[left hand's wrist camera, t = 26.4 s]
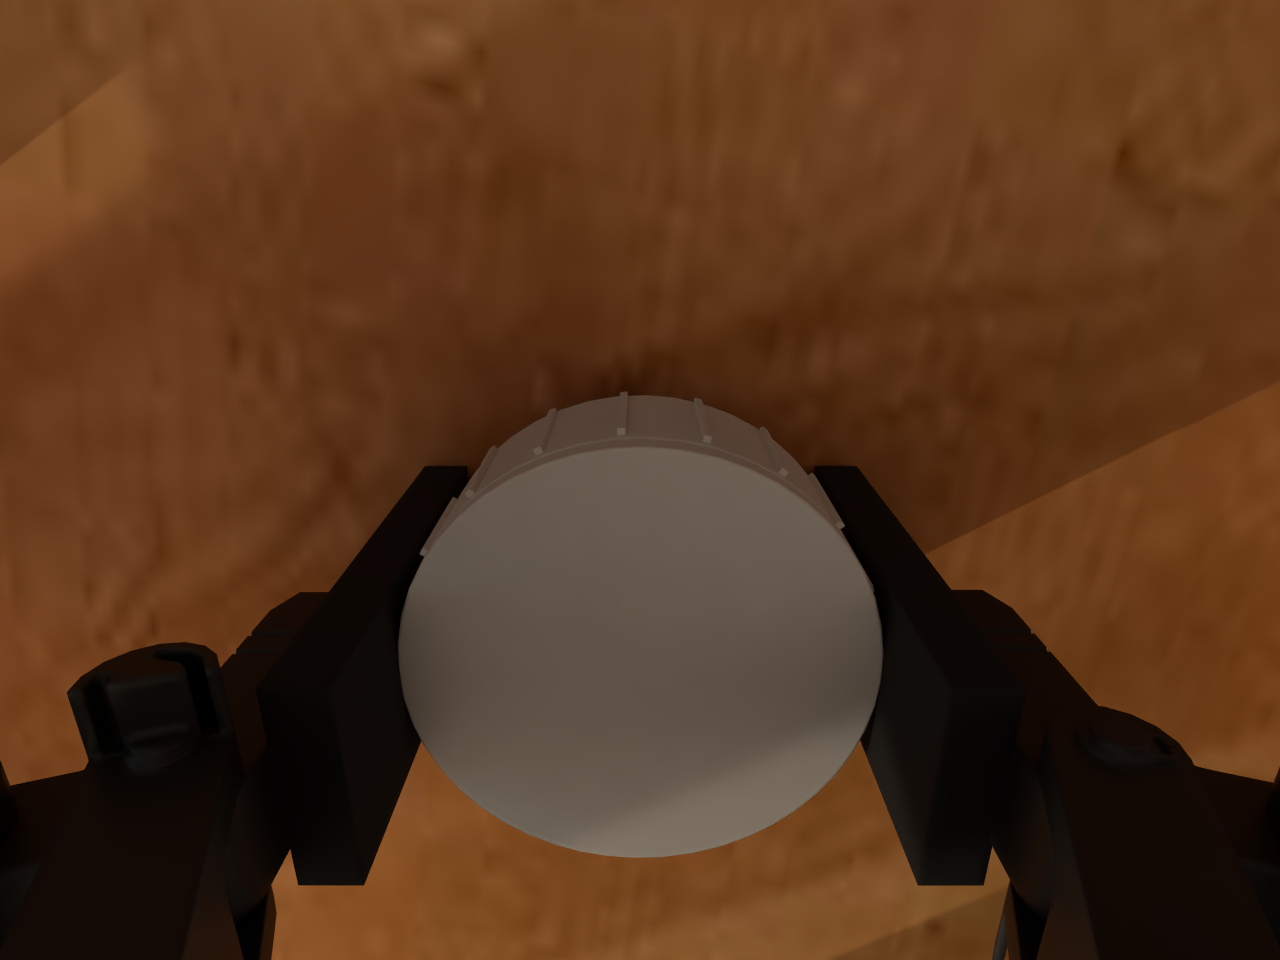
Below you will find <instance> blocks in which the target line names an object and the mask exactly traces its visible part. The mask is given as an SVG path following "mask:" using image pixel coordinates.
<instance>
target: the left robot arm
mask: <svg viewBox="0 0 1280 960" xmlns="http://www.w3.org/2000/svg"><path fill="white" fill-rule="evenodd" d="M814 475H815V477H816V478H817V480H818V481H819V483H820V485H821V487H822V488H823V490H824V492H825V493H826V495H827V497H828V498H829V500H830V502H831V503H832V505H833V507H834V508H835V510H836V512H837V513H838V515H839V517H840V518H841V520H842V522H843V523H844V525H845V526H844V527H843V528H841V529H840V530H841V531H842V532H843V534H844V536H845V538H846V539H847V541H848V543H849V544H850V546H851V548H852V550H853V551H854V553H855V555H856V557H857V558H858V560H859V562H860V564H861V565H862V567H863V569H864V570H865V572H866V574H867V576H868V577H869V579H870V581H871V583H872V584H873V587H874V592H873V594H874V596H875V599H876V603H877V607H878V612H879V616H880V620H881V625H882V637H883V652H884V653H883V664H882V675H881V682H880V687H879V691H878V695H877V699H876V703H875V707H874V710H873V712H872V715H871V717H870V719H869V722H868V724H867V727H866V729H865V732H864V733H863V735H862V737H861V739H860V741H861V743H862V746H863V748H864V751H865V753H866V756H867V758H868V761H869V764H870V766H871V769H872V771H873V774H874V776H875V779H876V781H877V784H878V786H879V789H880V791H881V794H882V796H883V799H884V801H885V804H886V806H887V809H888V811H889V814H890V816H891V819H892V821H893V824H894V826H895V829H896V831H897V834H898V837H899V839H900V842H901V844H902V847H903V849H904V852H905V854H906V857H907V859H908V862H909V864H910V867H911V869H912V872H913V874H914V877H915V879H916V882H917V884H918V885H984V881H985V877H986V872H987V868H988V863H989V858H990V854H991V849H992V846H993V848H994V850H995V852H996V854H997V856H998V858H999V859H1000V861H1001V863H1002V865H1003V867H1004V869H1005V871H1006V873H1007V875H1008V876H1009V878H1010V882H1009V886H1008V890H1007V895H1006V899H1005V903H1004V907H1003V912H1002V916H1001V920H1000V924H999V928H998V933H997V937H996V941H995V946H994V952H993V958H992V960H1004V958H1005V953H1006V949H1007V947H1008V955H1009V960H1280V768H1279V770H1278V773H1277V776H1276V778H1275V781H1274V783H1272V782H1267V781H1262V780H1257V779H1252V778H1247V777H1243V776H1238V775H1233V774H1228V773H1223V772H1218V771H1214V770H1209V769H1205V768H1201V767H1197V766H1194V764H1193V762H1192V760H1191V758H1190V757H1189V756H1188V755H1187V753H1186V752H1185V751H1184V749H1183V748H1182V747H1181V745H1180V744H1179V743H1178V742H1177V741H1176V740H1174V739H1173V738H1172V737H1170V736H1169V735H1167V734H1166V733H1165V732H1163V731H1162V730H1161V729H1159V728H1158V727H1157V726H1155V725H1152V724H1150V723H1148V722H1146V721H1144V720H1142V719H1140V718H1138V717H1136V716H1133V715H1131V714H1128V713H1125V712H1121V711H1118V710H1114V709H1110V708H1107V707H1102V706H1098V705H1097V704H1096V703H1095V702H1094V701H1093V700H1092V699H1091V697H1090V696H1089V695H1088V694H1087V693H1086V692H1085V691H1084V689H1083V688H1082V687H1081V686H1080V685H1079V684H1078V683H1077V681H1076V680H1075V679H1074V678H1073V677H1072V676H1071V675H1070V674H1069V672H1068V671H1067V670H1066V669H1065V668H1064V667H1063V666H1062V664H1061V663H1060V662H1059V661H1058V660H1057V659H1056V658H1055V656H1054V655H1053V654H1052V653H1051V652H1047V650H1046V646H1045V645H1044V644H1043V643H1042V642H1041V640H1040V639H1039V638H1038V637H1037V636H1036V635H1035V634H1031V629H1030V628H1029V627H1028V626H1027V624H1026V623H1025V622H1024V621H1023V620H1022V619H1021V618H1020V616H1019V615H1018V614H1017V613H1016V612H1015V611H1014V610H1013V608H1011V607H1010V606H1008V605H1006V604H1005V603H1003V602H1001V601H1000V600H998V599H996V598H995V597H993V596H991V595H990V594H988V593H986V592H985V591H983V590H951V589H950V587H949V586H948V585H947V584H946V582H945V581H944V580H943V578H942V577H941V576H940V574H939V573H938V572H937V571H936V569H935V568H934V567H933V565H932V564H931V563H930V561H929V560H928V559H927V557H926V556H925V555H924V554H923V552H922V551H921V550H920V548H919V547H918V546H917V544H916V543H915V542H914V541H913V539H912V538H911V537H910V535H909V534H908V533H907V531H906V530H905V529H904V527H903V526H902V525H901V524H900V522H899V521H898V520H897V518H896V517H895V516H894V514H893V513H892V512H891V510H890V509H889V508H888V507H887V505H886V504H885V503H884V501H883V500H882V499H881V497H880V496H879V495H878V494H877V492H876V491H875V490H874V488H873V487H872V486H871V484H870V483H869V482H868V480H867V479H866V478H865V477H864V475H863V474H862V473H861V471H860V470H859V469H858V467H857V466H815V474H814ZM467 484H468V476H467V466H425V467H424V468H423V470H422V471H421V472H420V474H419V475H418V476H417V478H416V479H415V480H414V482H413V483H412V484H411V485H410V487H409V488H408V489H407V491H406V492H405V493H404V495H403V496H402V497H401V499H400V500H399V501H398V502H397V504H396V505H395V506H394V508H393V509H392V510H391V512H390V513H389V514H388V516H387V517H386V518H385V519H384V521H383V522H382V523H381V525H380V526H379V527H378V529H377V530H376V531H375V532H374V534H373V535H372V536H371V538H370V539H369V540H368V542H367V543H366V544H365V546H364V547H363V548H362V549H361V551H360V552H359V553H358V555H357V556H356V557H355V559H354V560H353V561H352V563H351V564H350V565H349V566H348V568H347V569H346V570H345V572H344V573H343V574H342V576H341V577H340V578H339V580H338V581H337V582H336V583H335V585H334V586H333V587H332V589H331V590H330V591H329V592H300V593H298V594H297V595H295V596H293V597H292V598H290V599H288V600H287V601H285V602H283V603H282V604H280V605H279V606H277V607H275V608H274V609H272V610H270V611H269V613H268V614H267V615H266V616H265V617H264V618H263V620H262V621H261V622H260V623H259V624H258V625H257V626H256V628H255V629H254V630H253V631H252V636H248V637H247V638H246V639H245V640H244V641H243V643H242V644H241V645H240V646H239V647H238V648H237V649H236V654H232V655H231V656H230V657H229V659H228V660H227V661H226V662H225V663H224V664H223V666H222V667H221V668H220V666H219V662H218V658H217V654H216V653H214V652H213V651H212V650H210V649H209V648H208V647H206V646H204V645H198V644H193V643H187V642H181V643H167V644H158V645H153V646H149V647H145V648H141V649H137V650H133V651H130V652H127V653H125V654H123V655H120V656H118V657H115V658H113V659H110V660H108V661H106V662H103V663H102V664H100V665H99V666H97V667H96V668H94V669H92V670H91V671H89V672H88V673H86V674H85V675H83V676H81V677H80V678H79V680H78V681H77V682H76V683H75V684H74V685H73V686H72V687H71V688H70V689H69V691H68V692H67V695H68V698H69V701H70V704H71V707H72V710H73V714H74V717H75V720H76V723H77V726H78V729H79V732H80V735H81V738H82V741H83V744H84V747H85V750H86V753H87V756H88V759H89V761H88V763H87V766H86V768H85V770H82V771H78V772H74V773H69V774H64V775H59V776H55V777H50V778H45V779H40V780H35V781H30V782H26V783H21V784H16V785H11V786H10V784H9V782H8V779H7V776H6V774H5V771H4V768H3V766H2V763H1V761H0V960H271V957H272V948H273V940H274V931H275V922H276V914H277V913H276V906H275V900H274V895H273V890H272V886H271V884H272V882H273V880H274V878H275V876H276V875H277V873H278V871H279V869H280V867H281V865H282V863H283V861H284V859H285V858H286V856H287V854H288V852H289V850H290V849H291V854H292V858H293V863H294V868H295V872H296V877H297V881H298V885H364V884H365V881H366V879H367V876H368V874H369V871H370V869H371V866H372V864H373V861H374V859H375V856H376V854H377V851H378V849H379V846H380V844H381V841H382V839H383V836H384V834H385V831H386V828H387V826H388V823H389V821H390V818H391V816H392V813H393V811H394V808H395V806H396V803H397V801H398V798H399V796H400V793H401V791H402V788H403V786H404V783H405V781H406V778H407V776H408V773H409V770H410V768H411V765H412V763H413V760H414V758H415V755H416V753H417V750H418V748H419V745H420V743H421V738H420V737H419V735H418V733H417V731H416V729H415V727H414V725H413V723H412V720H411V717H410V714H409V712H408V709H407V706H406V703H405V700H404V697H403V691H402V684H401V677H400V670H399V661H398V637H399V629H400V621H401V615H402V611H403V608H404V604H405V601H406V597H407V594H408V591H409V588H410V586H411V583H412V581H413V579H414V577H415V575H416V573H417V571H418V569H419V566H420V564H421V562H422V560H423V559H424V556H422V555H420V552H421V550H422V548H423V546H424V545H425V543H426V541H427V540H428V538H429V536H430V535H431V533H432V531H433V530H434V528H435V526H436V525H437V523H438V521H439V520H440V518H441V516H442V514H443V513H444V511H445V509H446V508H447V506H448V504H449V503H450V501H451V499H452V498H453V497H454V498H456V499H458V498H459V496H460V494H461V493H462V491H463V490H464V488H465V487H466V485H467Z"/></svg>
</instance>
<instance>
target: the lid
mask: <svg viewBox="0 0 1280 960" xmlns="http://www.w3.org/2000/svg"><path fill="white" fill-rule="evenodd" d="M844 526H845V525H844V523H843V522H842V520H841V518H840V517H839V515H838V513H837V512H836V510H835V508H834V507H833V505H832V503H831V502H830V500H829V498H828V497H827V495H826V493H825V492H824V490H823V488H822V487H821V485H820V483H819V481H818V480H817V478H816V477H815V475H814V474H813V473H811V474H809V475H807V474H806V472H805V471H804V470H803V469H802V468H801V466H800V465H799V464H798V463H797V461H796V460H795V459H794V458H793V457H792V456H791V455H790V454H789V453H787V452H786V451H785V450H784V449H783V448H782V447H781V446H780V445H779V444H778V443H777V442H776V441H774V440H773V439H772V438H771V436H770V434H769V432H768V430H767V429H766V428H764V427H763V426H762V427H761V428H760V429H757V428H756V427H754V426H753V425H751V424H749V423H747V422H745V421H743V420H741V419H739V418H737V417H735V416H733V415H731V414H729V413H727V412H724V411H721V410H718V409H716V408H713V407H710V406H707V405H704V404H703V402H702V399H698V398H695V399H694V402H692V401H687V400H683V399H678V398H673V397H661V396H650V395H637V396H628V392H620V396H616V397H610V398H604V399H598V400H592V401H587V402H584V403H581V404H578V405H574V406H571V407H568V408H565V409H561V410H559V411H556V409H555V408H553V409H550V410H549V411H548V413H547V416H546V417H544V418H542V419H539V420H537V421H535V422H534V423H532V424H531V425H529V426H527V427H526V428H524V429H523V430H521V431H519V432H518V433H516V434H515V435H513V436H512V437H511V438H510V439H508V440H507V441H506V442H505V443H504V444H502V445H501V446H500V447H499V448H497V447H496V446H495V445H493V446H492V447H491V448H490V449H489V451H488V453H487V454H486V456H485V458H484V460H483V462H482V463H481V465H480V467H479V468H478V470H477V471H476V472H475V473H474V475H473V476H472V478H471V479H470V481H469V482H468V484H467V485H466V487H465V488H464V490H463V491H462V493H461V494H460V496H459V498H458V499H456V498H454V497H453V498H452V499H451V501H450V503H449V504H448V506H447V508H446V509H445V511H444V513H443V514H442V516H441V518H440V520H439V521H438V523H437V525H436V526H435V528H434V530H433V531H432V533H431V535H430V536H429V538H428V540H427V541H426V543H425V545H424V546H423V548H422V550H421V552H420V555H422V556H424V559H423V560H422V562H421V564H420V566H419V569H418V571H417V573H416V575H415V577H414V579H413V581H412V583H411V586H410V588H409V591H408V594H407V597H406V601H405V604H404V608H403V611H402V615H401V621H400V629H399V637H398V661H399V670H400V677H401V684H402V691H403V697H404V700H405V703H406V706H407V709H408V712H409V714H410V717H411V720H412V723H413V725H414V727H415V729H416V731H417V733H418V735H419V737H420V738H421V740H422V742H423V744H424V746H425V748H426V749H427V751H428V752H429V753H430V755H431V756H432V758H433V759H434V760H435V762H436V763H437V765H438V766H439V768H440V769H441V770H442V771H443V772H444V773H445V774H446V775H447V776H448V778H449V779H450V780H451V781H452V782H453V783H454V784H455V785H456V786H457V787H458V788H459V789H460V790H461V791H462V792H463V793H465V794H466V795H467V796H468V797H469V798H470V799H472V800H473V801H474V802H475V803H476V804H477V805H479V806H480V807H482V808H483V809H485V810H486V811H488V812H489V813H491V814H492V815H494V816H495V817H497V818H498V819H500V820H501V821H503V822H505V823H507V824H509V825H511V826H513V827H514V828H516V829H518V830H520V831H522V832H524V833H526V834H529V835H531V836H534V837H536V838H539V839H542V840H544V841H547V842H549V843H552V844H555V845H559V846H563V847H566V848H570V849H574V850H577V851H582V852H588V853H594V854H600V855H606V856H618V857H633V858H640V857H666V856H673V855H681V854H688V853H694V852H698V851H703V850H707V849H711V848H715V847H720V846H722V845H725V844H728V843H731V842H734V841H737V840H740V839H743V838H746V837H748V836H750V835H752V834H754V833H756V832H758V831H760V830H763V829H765V828H767V827H769V826H771V825H773V824H774V823H776V822H778V821H779V820H781V819H782V818H784V817H786V816H787V815H789V814H791V813H792V812H794V811H795V810H797V809H798V808H799V807H800V806H802V805H803V804H804V803H806V802H807V801H808V800H809V799H811V798H812V797H813V796H815V795H816V794H817V793H818V792H819V791H820V790H821V789H822V788H823V787H824V786H825V785H826V784H827V783H828V782H829V781H830V780H831V779H832V778H833V777H834V776H835V775H836V773H837V772H838V771H839V770H840V768H841V767H842V766H843V764H844V763H845V762H846V761H847V759H848V758H849V757H850V755H851V754H852V752H853V751H854V749H855V747H856V745H857V744H858V742H859V740H860V739H861V737H862V735H863V733H864V732H865V729H866V727H867V724H868V722H869V719H870V717H871V715H872V712H873V710H874V707H875V703H876V699H877V695H878V691H879V687H880V682H881V675H882V664H883V653H884V652H883V637H882V625H881V620H880V616H879V612H878V607H877V603H876V599H875V596H874V594H873V592H874V587H873V584H872V583H871V581H870V579H869V577H868V576H867V574H866V572H865V570H864V569H863V567H862V565H861V564H860V562H859V560H858V558H857V557H856V555H855V553H854V551H853V550H852V548H851V546H850V544H849V543H848V541H847V539H846V538H845V536H844V534H843V532H842V531H841V530H840V529H841V528H843V527H844Z"/></svg>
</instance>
